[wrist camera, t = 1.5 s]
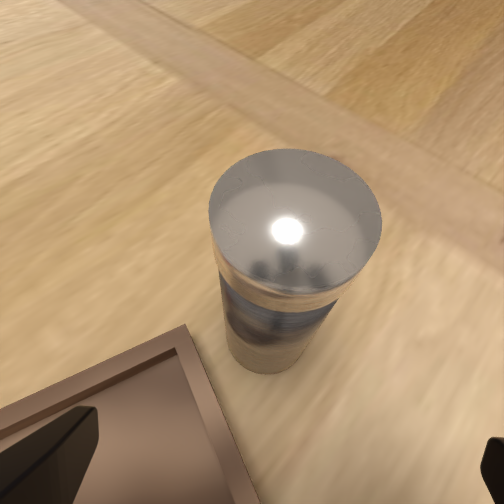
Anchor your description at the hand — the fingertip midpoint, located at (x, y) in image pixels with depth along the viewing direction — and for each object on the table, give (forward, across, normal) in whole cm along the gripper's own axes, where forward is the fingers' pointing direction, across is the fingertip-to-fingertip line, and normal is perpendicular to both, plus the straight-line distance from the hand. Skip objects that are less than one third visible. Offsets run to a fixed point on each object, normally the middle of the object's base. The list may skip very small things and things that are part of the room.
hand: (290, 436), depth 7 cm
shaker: (+13, 0, +4) cm, 14 cm away
